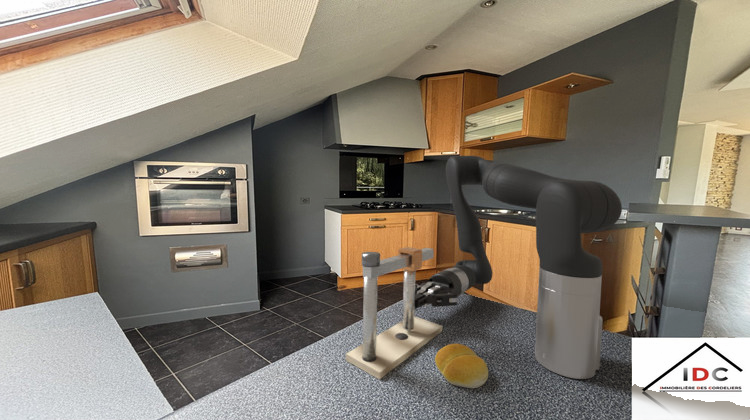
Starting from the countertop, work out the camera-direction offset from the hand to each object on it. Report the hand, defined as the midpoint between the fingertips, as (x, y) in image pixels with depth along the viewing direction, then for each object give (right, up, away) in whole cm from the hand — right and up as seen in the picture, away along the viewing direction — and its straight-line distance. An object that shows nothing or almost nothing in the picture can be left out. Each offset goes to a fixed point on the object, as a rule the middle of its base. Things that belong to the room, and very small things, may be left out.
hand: (412, 303), depth 61 cm
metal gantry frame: (-3, -6, -3) cm, 7 cm away
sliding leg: (-1, -5, -1) cm, 6 cm away
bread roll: (+7, -8, -12) cm, 16 cm away
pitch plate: (-4, -7, -4) cm, 9 cm away
